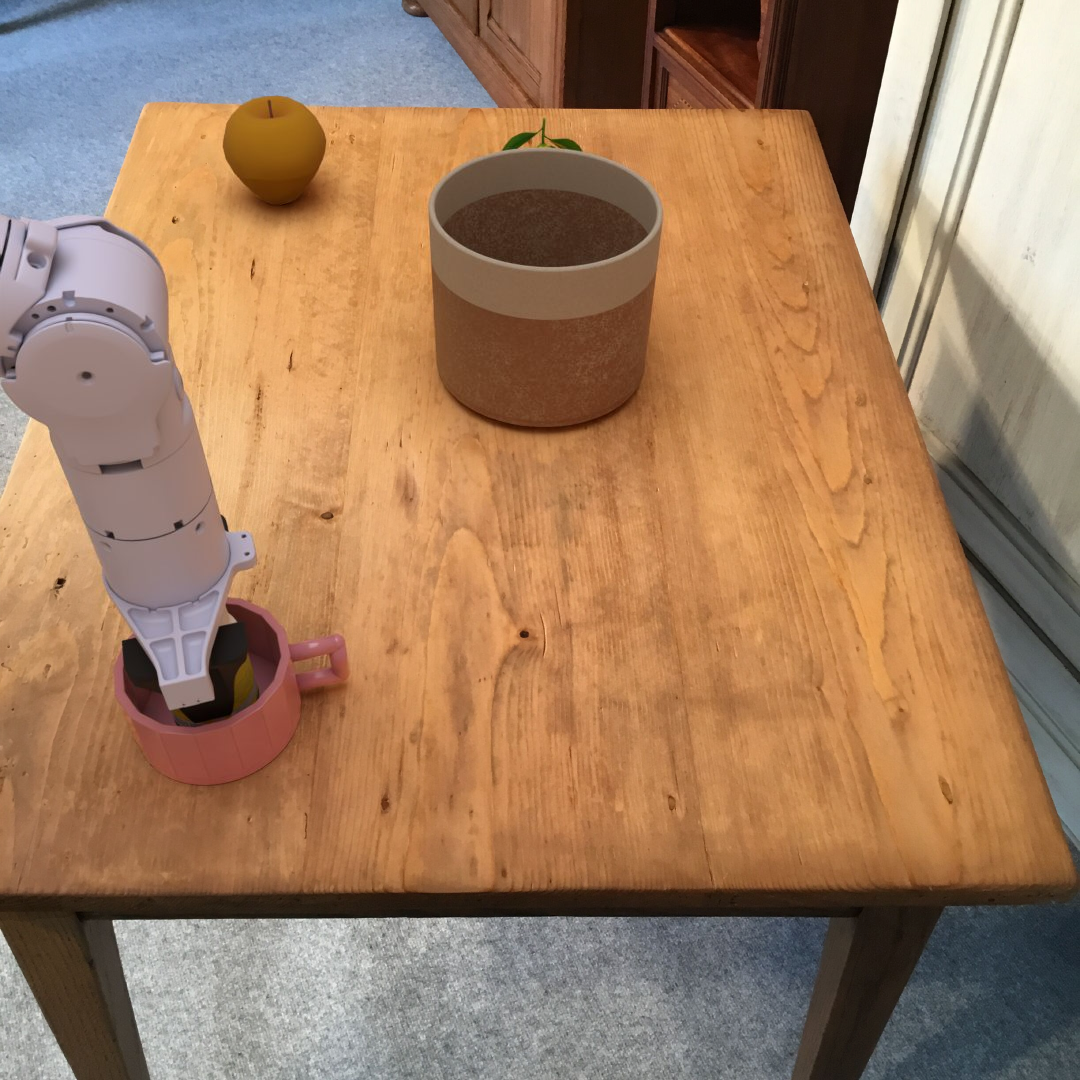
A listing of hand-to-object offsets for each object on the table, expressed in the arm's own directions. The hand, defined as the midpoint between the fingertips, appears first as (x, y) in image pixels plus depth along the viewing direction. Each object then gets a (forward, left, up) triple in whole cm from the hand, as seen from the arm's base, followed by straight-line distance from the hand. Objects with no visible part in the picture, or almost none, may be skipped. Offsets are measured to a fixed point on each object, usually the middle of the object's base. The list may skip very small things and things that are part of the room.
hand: (206, 674), depth 58 cm
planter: (+27, +25, -4) cm, 37 cm away
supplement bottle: (0, 0, -3) cm, 3 cm away
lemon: (+33, +44, -4) cm, 55 cm away
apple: (+12, +55, -4) cm, 56 cm away
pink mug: (+1, 0, -4) cm, 4 cm away
